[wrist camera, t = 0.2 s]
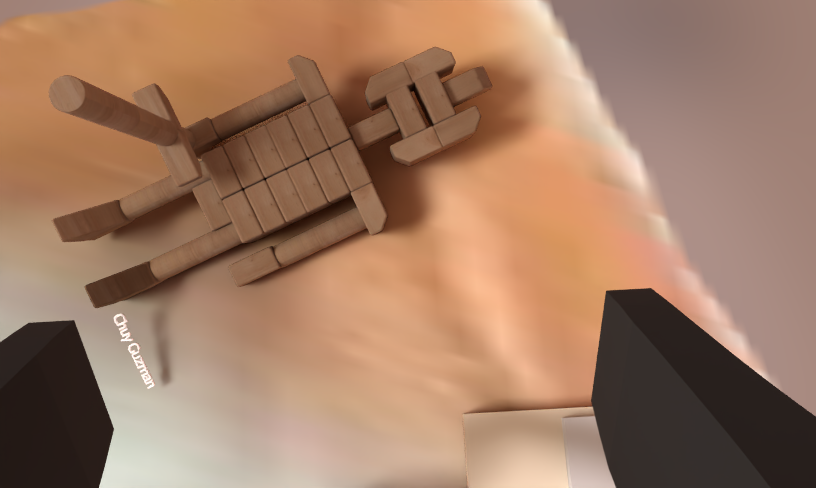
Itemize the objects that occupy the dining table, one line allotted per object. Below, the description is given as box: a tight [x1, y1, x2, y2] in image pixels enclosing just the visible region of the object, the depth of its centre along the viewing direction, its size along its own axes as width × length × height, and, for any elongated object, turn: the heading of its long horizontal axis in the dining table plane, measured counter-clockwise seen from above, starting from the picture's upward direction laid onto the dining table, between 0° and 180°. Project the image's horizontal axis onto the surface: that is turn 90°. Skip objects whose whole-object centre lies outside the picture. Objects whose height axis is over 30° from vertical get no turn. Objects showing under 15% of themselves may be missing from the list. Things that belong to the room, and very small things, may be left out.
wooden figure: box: [49, 47, 492, 389], centre depth 34 cm, size 14×18×25 cm
